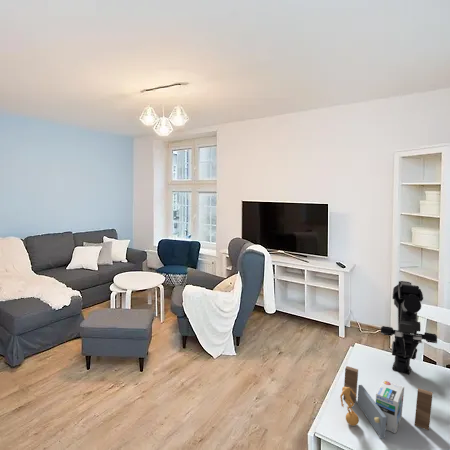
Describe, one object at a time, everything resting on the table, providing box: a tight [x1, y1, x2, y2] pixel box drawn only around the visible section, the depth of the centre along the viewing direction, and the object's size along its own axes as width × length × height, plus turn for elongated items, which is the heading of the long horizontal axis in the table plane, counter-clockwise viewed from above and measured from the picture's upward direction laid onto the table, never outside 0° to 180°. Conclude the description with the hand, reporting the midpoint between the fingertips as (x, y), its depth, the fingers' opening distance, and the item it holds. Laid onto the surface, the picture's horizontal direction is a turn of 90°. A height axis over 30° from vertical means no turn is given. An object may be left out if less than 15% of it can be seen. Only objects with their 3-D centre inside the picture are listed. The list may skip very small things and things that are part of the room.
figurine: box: [339, 386, 360, 427], centre depth 106 cm, size 8×6×12 cm
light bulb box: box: [375, 379, 405, 434], centre depth 107 cm, size 11×7×11 cm, turn 142°
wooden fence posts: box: [342, 365, 434, 431], centre depth 111 cm, size 2×26×12 cm, turn 56°
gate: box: [356, 384, 386, 439], centre depth 107 cm, size 2×16×7 cm, turn 3°
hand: (407, 358), depth 123 cm, fingers closed
